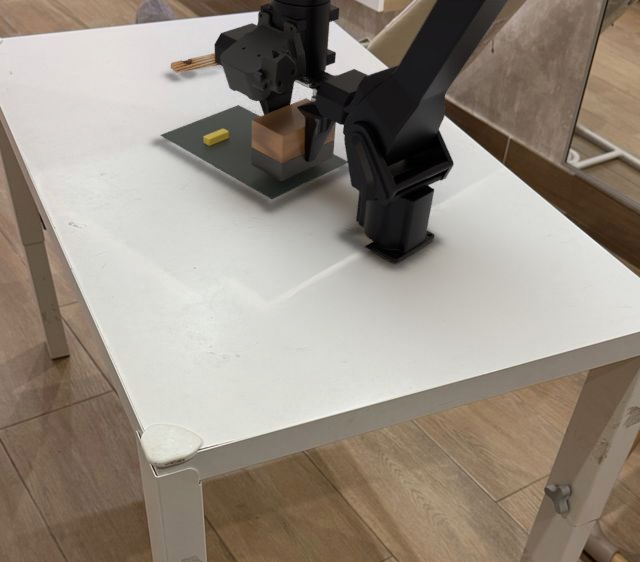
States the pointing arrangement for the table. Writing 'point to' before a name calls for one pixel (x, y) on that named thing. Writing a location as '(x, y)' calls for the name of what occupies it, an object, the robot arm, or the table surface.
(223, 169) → the slate board
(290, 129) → the eraser
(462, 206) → the table surface
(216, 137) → the chalk strip yellow
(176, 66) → the chopsticks in paper sleeve
